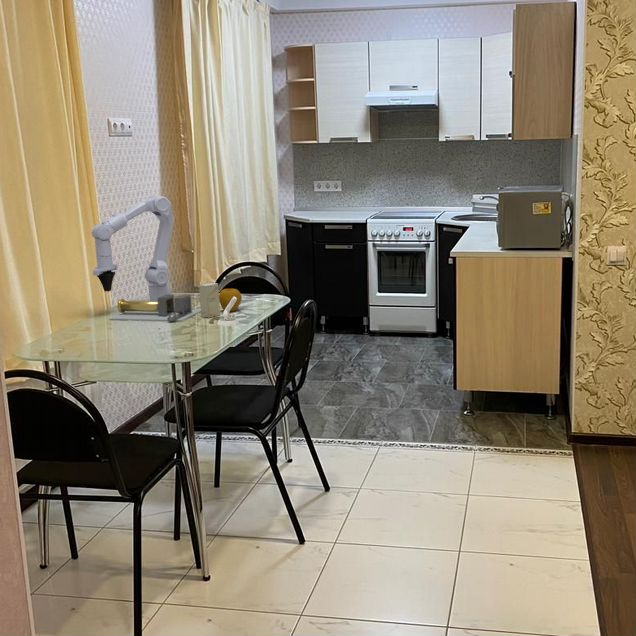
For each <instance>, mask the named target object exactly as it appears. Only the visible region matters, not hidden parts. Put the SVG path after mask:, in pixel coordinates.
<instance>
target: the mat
mask: <svg viewBox="0 0 636 636" xmlns="http://www.w3.org/2000/svg"><path fill="white" fill-rule="evenodd" d="M199 312H201V309H192V313H190V314H188V315H186V316H184V317H182V318H180V319H177V320H175V321H174V322H180V321H182V322H184V321H186V320H188V319H190V318H192V317H194V316H196V315H198V314H197V313H199ZM175 313H176V312H175ZM195 314H196V315H195ZM199 314H200V313H199ZM171 315H174V313H173V314H171ZM193 315H194V316H193ZM191 316H192V317H191ZM189 317H190V318H189ZM167 318H169V316H166V317H162V316H159V312H139V311H125V312H124V313H120V314H117V315H115V316H112V317H110V318H109V319H108V321H127V320H141V322H169V321H168V320H167ZM187 318H188V319H187ZM185 319H186V320H185ZM155 320H156V321H155ZM161 320H162V321H161ZM183 320H184V321H183Z"/></svg>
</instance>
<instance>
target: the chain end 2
mask: <svg viewBox="0 0 636 636" xmlns="http://www.w3.org/2000/svg"><path fill="white" fill-rule="evenodd" d="M174 303H175V312H176V313H174V315H169V318H167V320H168V321H167V322H176V321H175V320H177V319H180V318H182V317H184V316H186V315H188V314H190V313H192V310H193V308H192V307H193V306H192V297H191V294H180V295H179V296H176V297H174Z"/></svg>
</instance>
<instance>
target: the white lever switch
mask: <svg viewBox="0 0 636 636" xmlns="http://www.w3.org/2000/svg"><path fill="white" fill-rule="evenodd" d="M236 300H237V298H236V297H235V296H234V297H233V298H232V299H231V301H230V303H229V304H228V306H227V307H226V309H225V310H224V309H223V314H222V313H221V314H222V318H220V319H218V321H217V324H218V325H217V326H219V325H221V326H220V327H232V326H237V325H238V324H240V322H239V320H238V318H236V317H231V314H230V312H229V311H230V310H231V308H232V307H233V305H234V303H235V302H236Z"/></svg>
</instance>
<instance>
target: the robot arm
mask: <svg viewBox="0 0 636 636" xmlns="http://www.w3.org/2000/svg"><path fill="white" fill-rule="evenodd" d="M172 206H173V205H172V203H171V201H170V200H169V199H168V198H167V197H166V196H162V195H161V196H159V195H158V196H157V195H150V196H148V197H147V198H143V200H141V201H139V202H138V203H137V204H136V205H134V206H132V207H131V208H129V209H128V210H126V211H125V212H124V213H119V212H118V213H113V214H111V217H110V218H108V219H106V220H102V221H101V223H100V224H96V225H95V226H93V228H92V231H91V232H90V233H91V235H92V237H93V238H94V244H95V245H94V246H95V254H96V264H97V267H95V268H94V269H93V270H92V273H93V274H92V275H93V276H96V278H98V279H99V281H100V283H101V286H102V288H103V291H104V292H111V291H112V286H113V281H114V278H115V275H116V272H115V270H116V271H117V270H119V269H118V267H119V266H118V264H114V263H113V254H112V252H113V251H112V244H111V238H112V236H113V235H114V234H115V233H117V232H119V231H120V230H122V229H124V228H125V227H127V225H128V222H129V221H130V220H132V219H134V218H136V217H137V216H140V215H141V214H143V213H147V212H151V213H152V214H154V215H155V216H156V218H157V219H158V221H159V225H158V230H157V235H156V241H155V245H154V251H153V257H152V260H151V262H149V265H148V268H147V270H146V271H145V274H144V277H145V280H146V281H147V282H148V293H149V294H148V295H149V296H148V297H149V301H158V300H157V298H159V297H161V296H164V295H166V294H172V289H171V286H170V285H169V284H167V283H168V282H169V277H170V276H169V272H168V271H169V267H168V265H167V259H168V255H169V249H170V245H171V238H172V233H173V228H174V224H175V223H174V222H175V216H174V212H173V209H172V208H173V207H172Z"/></svg>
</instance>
